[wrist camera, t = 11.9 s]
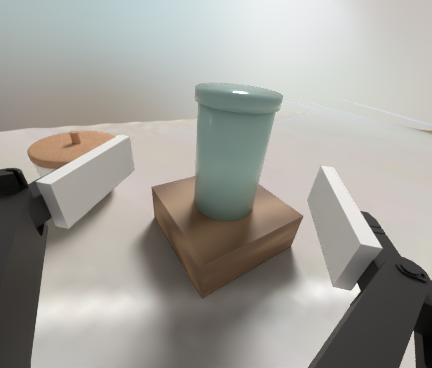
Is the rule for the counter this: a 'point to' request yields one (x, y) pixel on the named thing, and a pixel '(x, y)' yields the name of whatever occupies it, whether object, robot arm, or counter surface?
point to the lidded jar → (64, 149)
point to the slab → (222, 234)
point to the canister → (231, 146)
